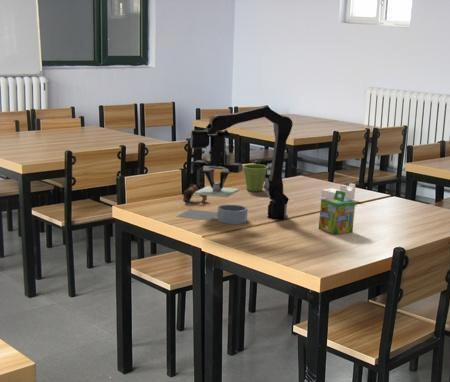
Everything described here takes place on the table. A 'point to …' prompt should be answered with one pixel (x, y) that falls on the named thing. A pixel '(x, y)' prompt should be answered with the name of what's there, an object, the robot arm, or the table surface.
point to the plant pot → (255, 176)
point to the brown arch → (190, 192)
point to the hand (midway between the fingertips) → (217, 188)
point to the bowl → (232, 214)
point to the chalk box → (337, 214)
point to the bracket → (348, 192)
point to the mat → (198, 214)
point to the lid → (216, 191)
